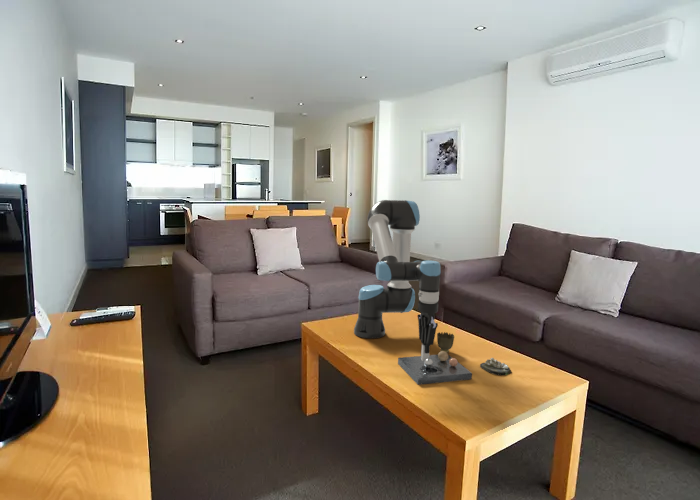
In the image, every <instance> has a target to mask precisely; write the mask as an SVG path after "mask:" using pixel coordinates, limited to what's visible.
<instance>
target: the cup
mask: <svg viewBox="0 0 700 500" xmlns="http://www.w3.org/2000/svg"><path fill="white" fill-rule="evenodd" d="M436 341H437V342H436V343H437V346H438V348H439V349H440V352H441V351H445V352H447V354H449V352H450V350H451V349H452V348H453V346H454V341H455V335H454V334H453V333H451V332H449V333H448V332H446V331H444V332H443V331H442V332H440V331H439V332H438V333H437V334H436Z"/></svg>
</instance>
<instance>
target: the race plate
mask: <svg viewBox="0 0 700 500" xmlns="http://www.w3.org/2000/svg"><path fill="white" fill-rule="evenodd" d="M451 358H453V356H451V355H449V354H448V359H447V360H446V361H441V360H439V358H438V354H429V359H431V360H432V361H433V366H432V367H430V368H428V367H426V366H425V365H424V361H422V360H421V355H418V356H403V357H398V358H397V365H399V367H401V369H402V370H403V371H404V372H405V373H406V374H407V375H408V376H409V377H410V378H411V379H412V380H413V382H414V383H416V384H417V386H419V385H429V384H439V383H449V382H459V381H469V380H472V379H473V377H472V376H473V373H472V372H471V371H470V370H469V369H468V368H466V367H465V366H464V365H462V364H461V363H460V362H458V364H457V365H456V366H455V367H453V366H451V365H450V364H449V360H450V359H451Z"/></svg>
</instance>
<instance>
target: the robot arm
mask: <svg viewBox="0 0 700 500" xmlns="http://www.w3.org/2000/svg"><path fill="white" fill-rule="evenodd" d="M420 217H421V216H420V209H419V206H418V203H416V202H415V201H413V200H403V199H402V200H399V199H398V200H396V199H395V200H394V199H393V200H392V199H391V200H390V199H382V200H379V201H377V202H375V203H374V204H373V205H372V207H371V208H370V209H369V211H368V213H367V219H366V220H367V221H366V222H367V225H368V227H369V229H370V230H371V233H372V237H373V240H374V245H375V250H376V255H377V258H378V262H377V263H376V265H375V277H376V279H377V280H378V281H382V282H383V281H384V282H388V283H387V284H386V285H387V286H386V288H384V286H383V285H380V284H370V285H365V286H363V287H361V288H360V289H359V292H358V314H357V317H358V318H357V319H356V322H355V325H354V328H353V333H354V335H355V336H356V337H360V338H362V339H380V338H382V337H384V336H385V335H386V328H385V324H384V321H383V314H385V313H386V314H387V313H388V314H390V313H391V314H392V313H394V314H395V313H397V314H398V313H400V314H404V313H410V312H411V311H412V310H413V308H414V305H415V300H416V292H415V290H414V288H412V285H411V284H410V282H412V281H413V282H415V281H417V282H419V287H418V300H419V301H418V302H417V303H418V304H417V310H418V311H419V314H417V321H418V322H417V323H418V340H420V343H421V353H420V356H421V360H422V361H425V360H426V359H429V355H430V350H431V349H430V347H431V346H433V345H434V342H435V338H436V331H437V329H438V327H439V325H438V322H435V319H436V318H435V314H436V313H438V312H439V298H440V297H439V296H440V284H441V283H440V282H441V270H442V269H441V263H440V262H439V261H436V260H431V259H430V260H427V259H426V260H414V261H410V260H411V244H412V243H411V241H412V233H413V232H414V231H415V230H416V229H415V228H416V227H417V226H418V225H419V223H420ZM391 232H392V234H391Z"/></svg>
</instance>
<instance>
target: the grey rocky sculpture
mask: <svg viewBox="0 0 700 500" xmlns="http://www.w3.org/2000/svg"><path fill="white" fill-rule="evenodd" d="M479 368H481V370H483V371H485V372H486V373H487V372H488V373H489V374H491V375H495V376H501V377H502V376H503V377H504V376H508V375H510V374H512V373H513V372H512V370H511V368H510V367H509V365H507V364H505V363H504V362H501V361H498V359H495V358H494V357H491V358H490V359H487V360H486V361H485V362H481V363H480V364H479Z"/></svg>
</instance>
